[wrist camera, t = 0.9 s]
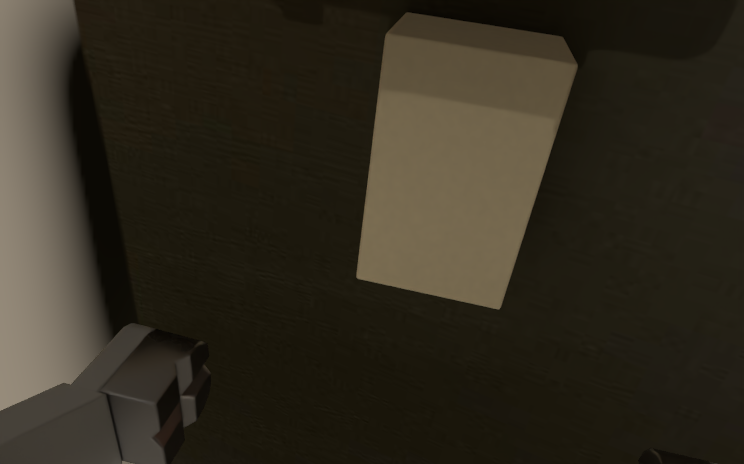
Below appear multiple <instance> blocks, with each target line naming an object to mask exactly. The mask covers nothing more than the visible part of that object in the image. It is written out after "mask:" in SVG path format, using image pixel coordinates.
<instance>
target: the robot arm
mask: <svg viewBox="0 0 744 464" xmlns="http://www.w3.org/2000/svg"><path fill="white" fill-rule="evenodd" d="M208 357H209V351H208V343H205V342H203V341H199V340H196V339H192V338H188V337H185V336H181V335H177V334H173V333H170V332H166V331H162V330H158V329H154V328H150V327H146V326H142V325H138V324H134V323H131V324H129V325H128V326H125V327H124V328H123V329H122V330H121V331H120V332H119V333H118V334H117V335H116V336H115V337H114V338H113V339H112V341H111V342H110V343H109V344H108V345H107V346H106V347H105V348H104V349H103V350H102V351H101V352H100V354H99V355H98V356H97V357H96V358H95V359H94V360H93V361H92V362H91V363H90V364H89V366H88V367H87V368H86V369H85V370H84V371H83V372H82V373H81V374H80V375H79V376H78V377H77V379H76V380H75V381H74V382H73V383H72V384H71V385H70V384H66V383H62V384H60V385H58V386H55V387H53V388H51V389H49V390H46V391H44V392H42V393H40V394H37V395H35V396H33V397H31V398H28V399H27V400H24V401H22V402H20V403H17V404H15V405H13V406H10V407H9V408H6V409H4V410H1V411H0V464H122V461H126V462H130V463H135V464H171V462H172V461H173V459H174V457H175V456H176V454H177V452H178V451H179V449H180V447H181V446H182V444H183V442H184V441H185V437H184V429H183V428H184V427H186V426H188V425H190V424H191V423H193V422H195V421H197V419H198V417H199V415H200V414H201V412H202V410H203V409H204V406H205V403H206V401H207V398H208V395H209V392H210V385H211V374H210V371H209V370H208V369H207V368H206V366H205V365H204V363H205V362H206V360H207V359H208ZM638 461H639V464H717V463H710V462H709V461H706V460H701V459H697V458H693V457H688V456H684V455H679V454H675V453H671V452H666V451H662V450H657V449H653V448H650V449H648V450H646V451H644V452H643V454H642V455H641V457H640V458H639V460H638Z"/></svg>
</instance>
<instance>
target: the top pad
mask: <svg viewBox="0 0 744 464" xmlns="http://www.w3.org/2000/svg"><path fill="white" fill-rule="evenodd" d="M577 68H578V64H577V63H576V61H575V59H574V57H573V55H572V53H571V51H570V49H569V47H568V46H567V44H566V42H565V40H564V38H563V37H562V36H555V35H549V34H543V33H536V32H530V31H524V30H517V29H511V28H504V27H498V26H492V25H485V24H479V23H473V22H466V21H460V20H454V19H447V18H441V17H435V16H428V15H422V14H415V13H409V12H407V13H405V14H404V15H403V16H402V18H401V19H400V20H399V21H398V22H397V23H396V24H395V25H394V26H393V27H392V28H391V29H390V30H389V31H388V32H387V33H386V35H385V42H384V51H383V59H382V67H381V75H380V84H379V92H378V100H377V109H376V117H375V125H374V133H373V142H372V150H371V158H370V167H369V175H368V183H367V192H366V200H365V208H364V216H363V225H362V233H361V241H360V250H359V258H358V266H357V274H356V277H357V278H358V279H362V280H366V281H371V282H376V283H380V284H385V285H389V286H394V287H398V288H403V289H408V290H412V291H417V292H421V293H426V294H430V295H435V296H440V297H444V298H449V299H453V300H458V301H462V302H467V303H472V304H476V305H481V306H485V307H490V308H494V309H500V308H501V305H502V302H503V299H504V296H505V292H506V289H507V286H508V283H509V280H510V277H511V274H512V271H513V267H514V264H515V261H516V258H517V255H518V252H519V249H520V246H521V243H522V239H523V236H524V233H525V230H526V227H527V224H528V221H529V218H530V214H531V211H532V208H533V205H534V202H535V199H536V196H537V193H538V189H539V186H540V183H541V180H542V177H543V174H544V171H545V168H546V165H547V161H548V158H549V155H550V152H551V149H552V146H553V143H554V140H555V136H556V133H557V130H558V127H559V124H560V121H561V118H562V115H563V112H564V108H565V105H566V102H567V99H568V96H569V93H570V90H571V87H572V83H573V80H574V77H575V74H576V71H577Z"/></svg>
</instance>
